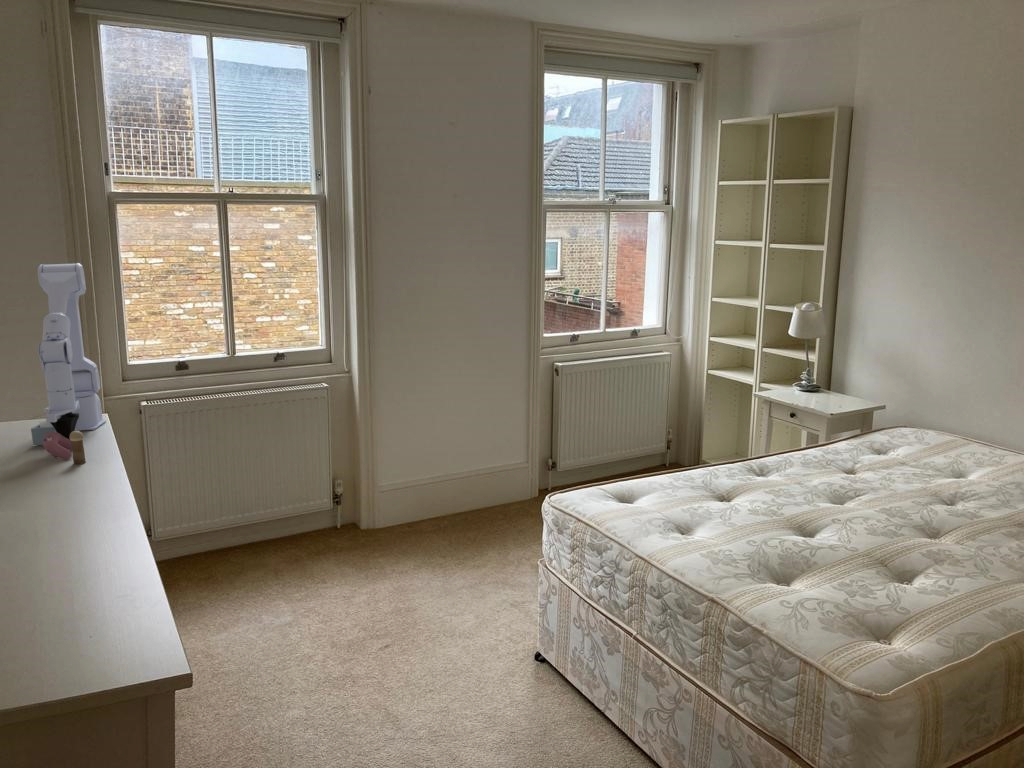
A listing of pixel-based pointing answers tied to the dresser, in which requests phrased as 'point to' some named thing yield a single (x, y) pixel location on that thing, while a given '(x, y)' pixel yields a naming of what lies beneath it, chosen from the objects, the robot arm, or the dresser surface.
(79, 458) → the post
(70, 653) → the dresser surface
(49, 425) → the dome
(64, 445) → the video game controller
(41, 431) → the hollow square tube
